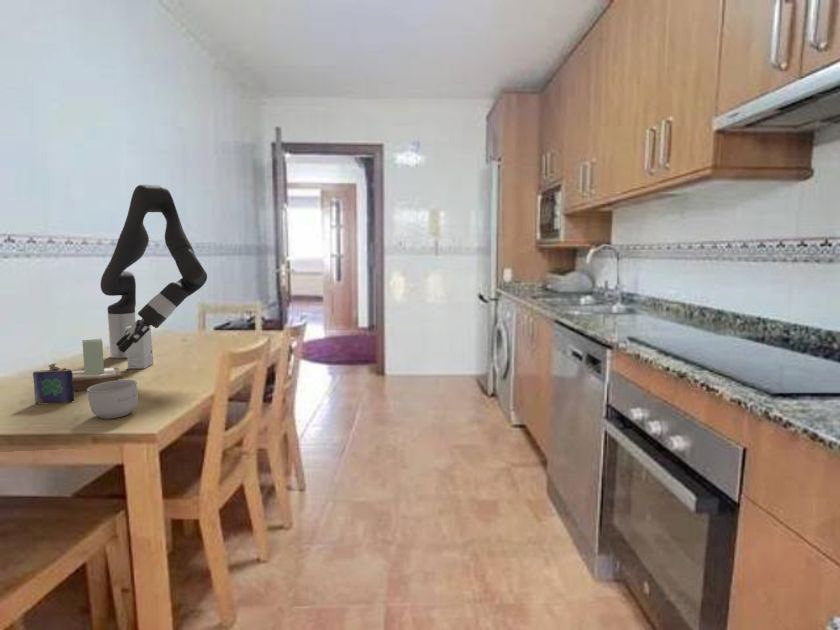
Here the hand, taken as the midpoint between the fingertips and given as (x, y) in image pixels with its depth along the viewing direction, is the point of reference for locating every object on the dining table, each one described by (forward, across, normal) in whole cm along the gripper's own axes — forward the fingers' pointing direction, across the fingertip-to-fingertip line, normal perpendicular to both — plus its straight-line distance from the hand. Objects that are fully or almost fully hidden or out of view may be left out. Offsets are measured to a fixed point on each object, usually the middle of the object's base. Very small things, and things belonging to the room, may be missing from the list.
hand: (119, 348), depth 163 cm
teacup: (+10, +37, +5) cm, 39 cm away
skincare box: (+2, -20, +13) cm, 24 cm away
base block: (+12, 0, +2) cm, 13 cm away
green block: (+10, 0, 0) cm, 10 cm away
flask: (+20, +17, -4) cm, 26 cm away
